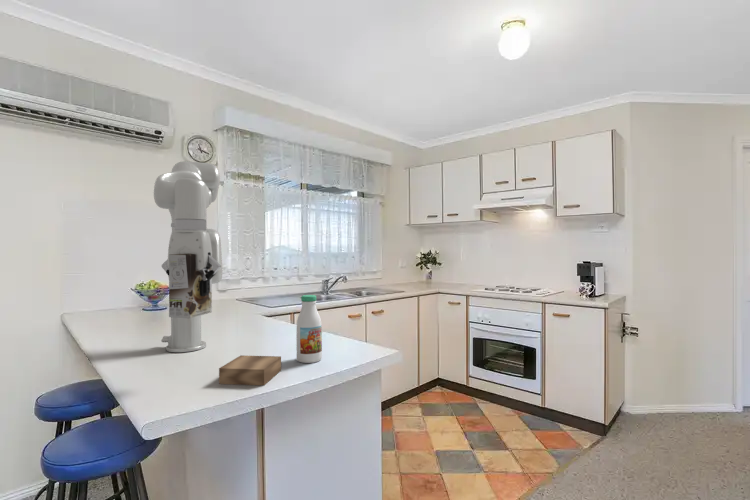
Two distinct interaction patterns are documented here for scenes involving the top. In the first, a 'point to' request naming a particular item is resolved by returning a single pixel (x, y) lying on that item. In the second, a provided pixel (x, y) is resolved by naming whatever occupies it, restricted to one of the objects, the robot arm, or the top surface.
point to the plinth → (250, 370)
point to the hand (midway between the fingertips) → (191, 294)
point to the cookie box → (186, 288)
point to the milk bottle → (309, 331)
